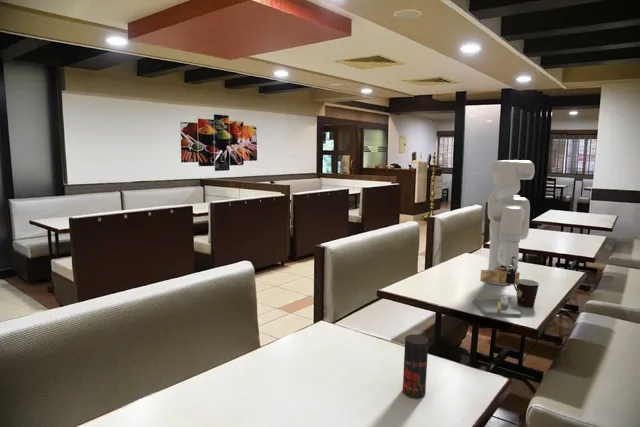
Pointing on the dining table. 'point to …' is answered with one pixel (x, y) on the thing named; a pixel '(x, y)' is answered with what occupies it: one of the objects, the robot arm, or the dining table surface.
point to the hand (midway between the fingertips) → (506, 280)
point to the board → (495, 308)
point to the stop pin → (499, 307)
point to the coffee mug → (526, 292)
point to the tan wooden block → (498, 276)
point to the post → (504, 301)
